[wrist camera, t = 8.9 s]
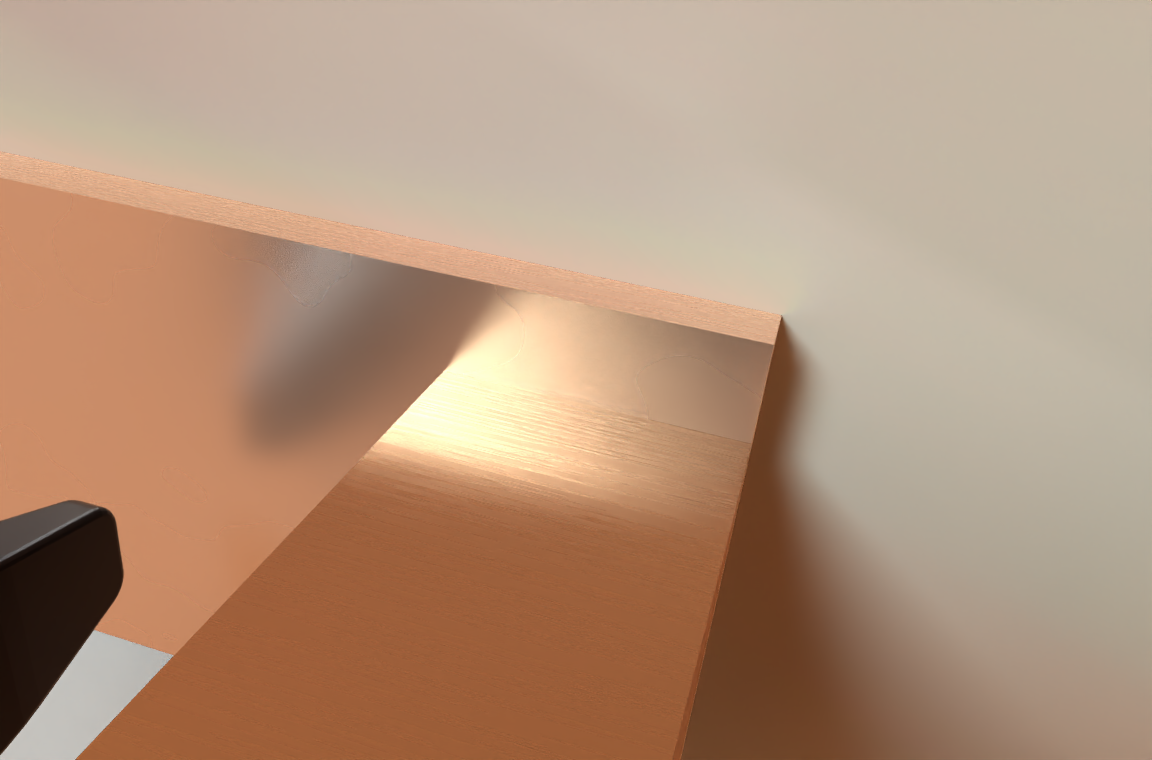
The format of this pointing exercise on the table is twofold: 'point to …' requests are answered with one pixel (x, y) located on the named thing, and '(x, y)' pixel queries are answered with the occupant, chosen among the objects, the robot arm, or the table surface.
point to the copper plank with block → (373, 475)
